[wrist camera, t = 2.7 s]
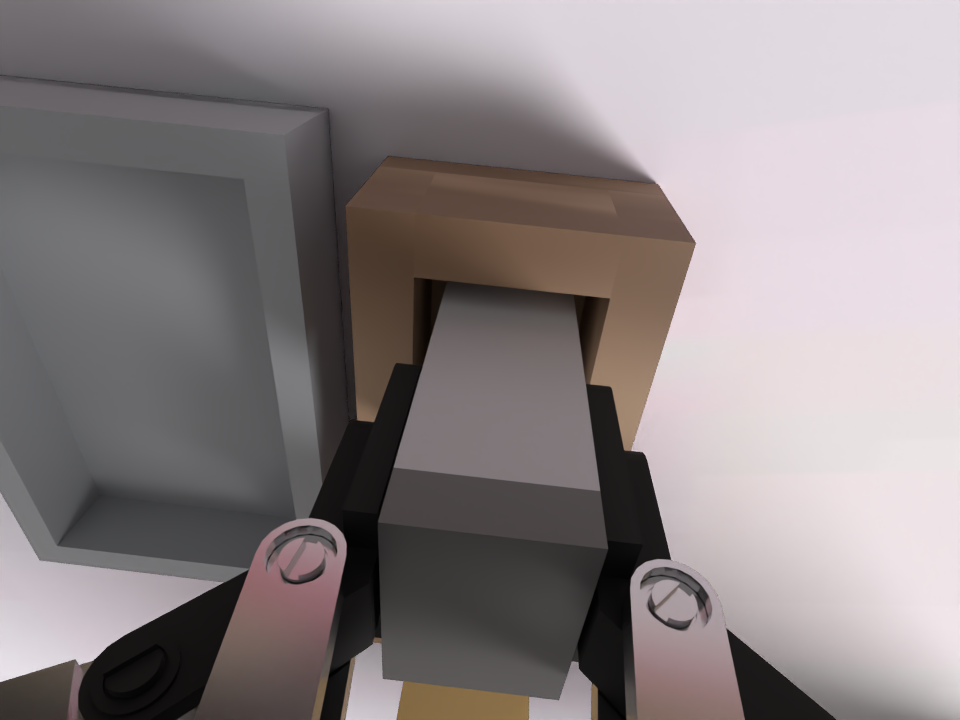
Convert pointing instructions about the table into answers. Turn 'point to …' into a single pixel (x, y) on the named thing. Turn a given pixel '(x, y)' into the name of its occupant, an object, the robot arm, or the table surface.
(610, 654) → the robot arm
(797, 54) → the table surface
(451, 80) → the table surface
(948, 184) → the table surface
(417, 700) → the block
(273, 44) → the table surface
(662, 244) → the block
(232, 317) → the parts tray
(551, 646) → the block
